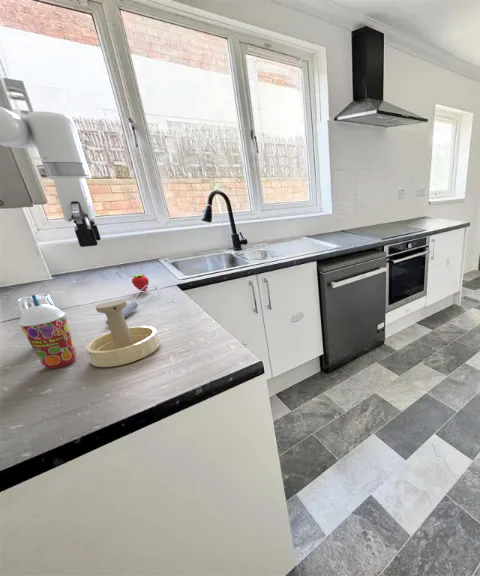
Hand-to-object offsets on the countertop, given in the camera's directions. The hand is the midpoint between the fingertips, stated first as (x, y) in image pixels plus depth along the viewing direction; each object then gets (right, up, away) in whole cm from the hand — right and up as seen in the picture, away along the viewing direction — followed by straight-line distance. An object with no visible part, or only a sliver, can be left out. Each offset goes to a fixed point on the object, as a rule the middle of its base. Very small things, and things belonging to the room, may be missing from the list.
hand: (91, 243), depth 79 cm
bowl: (0, -30, +11) cm, 32 cm away
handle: (0, -30, +10) cm, 32 cm away
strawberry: (-35, -14, +62) cm, 72 cm away
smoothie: (-14, -32, +6) cm, 36 cm away
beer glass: (-29, -29, +18) cm, 45 cm away
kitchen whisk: (-22, -20, +42) cm, 52 cm away
